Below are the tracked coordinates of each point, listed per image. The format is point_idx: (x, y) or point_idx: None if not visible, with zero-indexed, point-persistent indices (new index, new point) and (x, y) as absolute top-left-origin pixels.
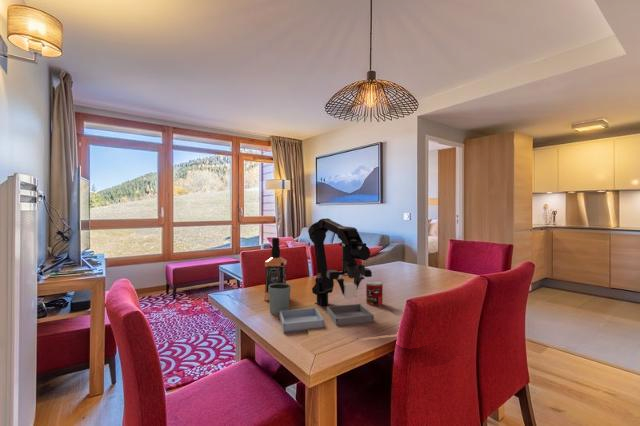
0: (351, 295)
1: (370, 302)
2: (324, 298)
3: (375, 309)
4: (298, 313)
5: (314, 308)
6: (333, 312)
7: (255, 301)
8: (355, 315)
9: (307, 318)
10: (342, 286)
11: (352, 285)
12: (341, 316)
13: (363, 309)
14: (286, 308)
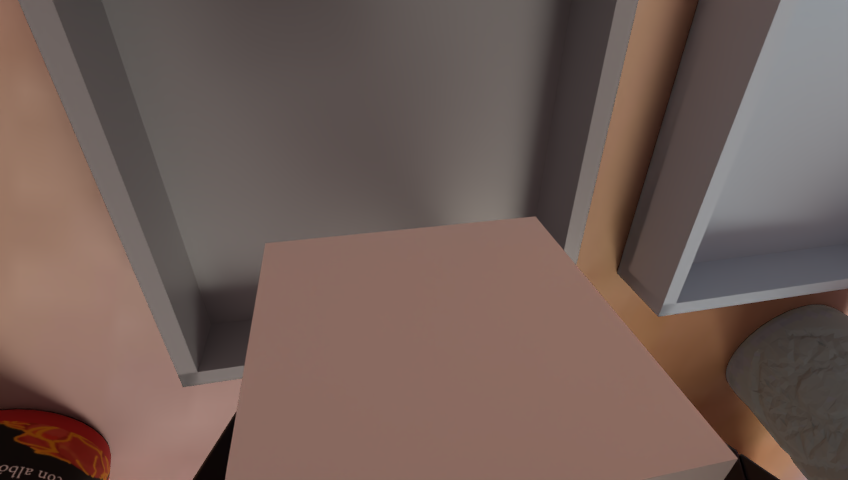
0: (409, 256)
1: (53, 453)
2: None
3: (16, 358)
4: (773, 265)
5: (674, 301)
6: None
7: (791, 465)
8: (286, 195)
9: (738, 191)
10: (728, 477)
11: None
12: (444, 191)
13: (164, 257)
14: (794, 346)
